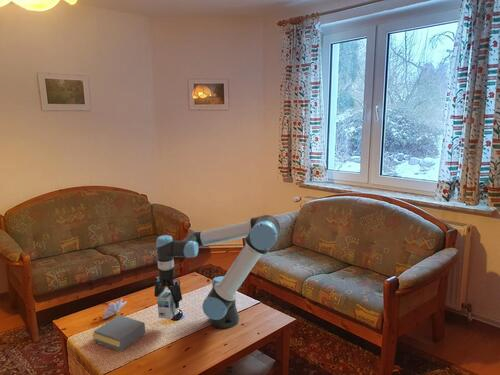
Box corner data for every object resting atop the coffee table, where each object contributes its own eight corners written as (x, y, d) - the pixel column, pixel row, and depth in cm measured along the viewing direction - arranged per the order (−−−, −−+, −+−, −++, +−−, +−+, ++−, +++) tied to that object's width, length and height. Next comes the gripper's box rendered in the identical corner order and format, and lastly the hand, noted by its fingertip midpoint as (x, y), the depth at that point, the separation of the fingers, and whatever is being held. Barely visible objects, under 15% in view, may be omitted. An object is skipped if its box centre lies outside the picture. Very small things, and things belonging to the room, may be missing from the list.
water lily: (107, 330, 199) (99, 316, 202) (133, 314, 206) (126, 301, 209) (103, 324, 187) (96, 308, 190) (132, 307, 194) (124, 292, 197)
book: (145, 333, 183) (144, 322, 182) (118, 353, 169) (117, 340, 167) (120, 326, 191) (119, 315, 190) (93, 343, 176) (92, 331, 175)
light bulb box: (171, 319, 179) (169, 298, 178) (158, 318, 181) (156, 297, 179) (179, 308, 190) (178, 288, 188) (167, 307, 191) (166, 287, 189)
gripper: (144, 267, 183) (147, 311, 186) (178, 274, 173) (181, 320, 177) (154, 262, 189) (157, 304, 193) (188, 268, 180) (190, 312, 184)
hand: (169, 311), depth 185 cm, fingers closed on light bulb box, 8 cm apart
